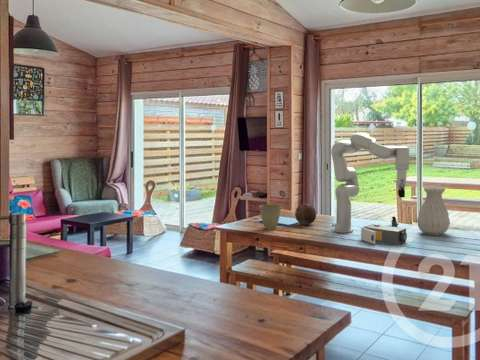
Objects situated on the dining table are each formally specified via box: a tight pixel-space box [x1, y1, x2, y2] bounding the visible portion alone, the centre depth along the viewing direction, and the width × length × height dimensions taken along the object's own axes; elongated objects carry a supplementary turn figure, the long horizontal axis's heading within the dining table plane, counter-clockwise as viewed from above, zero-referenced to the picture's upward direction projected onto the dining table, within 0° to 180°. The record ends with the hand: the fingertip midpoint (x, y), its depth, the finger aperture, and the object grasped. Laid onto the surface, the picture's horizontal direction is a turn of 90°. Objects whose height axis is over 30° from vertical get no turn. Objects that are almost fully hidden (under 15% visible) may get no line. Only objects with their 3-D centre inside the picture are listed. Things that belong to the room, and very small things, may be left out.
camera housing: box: [362, 223, 408, 246], centre depth 296 cm, size 24×12×9 cm, turn 47°
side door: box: [360, 226, 376, 245], centre depth 293 cm, size 14×2×7 cm, turn 17°
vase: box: [416, 186, 451, 236], centre depth 315 cm, size 20×20×30 cm
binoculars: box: [390, 216, 399, 227], centre depth 318 cm, size 9×11×10 cm
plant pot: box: [259, 204, 282, 231], centre depth 332 cm, size 15×15×16 cm
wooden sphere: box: [294, 203, 317, 226], centre depth 347 cm, size 15×15×15 cm
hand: (401, 196), depth 291 cm, fingers open, 9 cm apart
